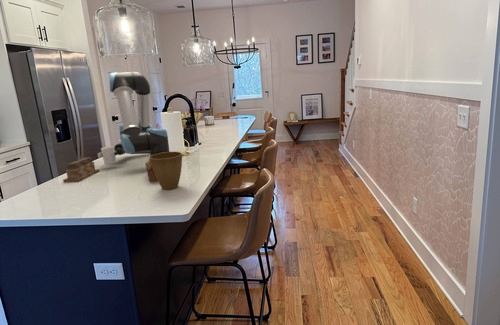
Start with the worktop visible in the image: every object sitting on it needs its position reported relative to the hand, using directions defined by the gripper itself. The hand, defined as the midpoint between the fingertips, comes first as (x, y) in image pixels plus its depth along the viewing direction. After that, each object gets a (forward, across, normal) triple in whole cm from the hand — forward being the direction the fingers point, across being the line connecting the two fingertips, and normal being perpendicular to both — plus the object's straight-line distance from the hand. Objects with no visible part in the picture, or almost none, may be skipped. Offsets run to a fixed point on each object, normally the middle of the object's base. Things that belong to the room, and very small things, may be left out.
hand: (104, 155), depth 204 cm
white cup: (-5, 0, -6) cm, 8 cm away
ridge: (+15, +7, -9) cm, 19 cm away
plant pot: (+45, -54, -10) cm, 70 cm away
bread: (+24, -41, -10) cm, 48 cm away
